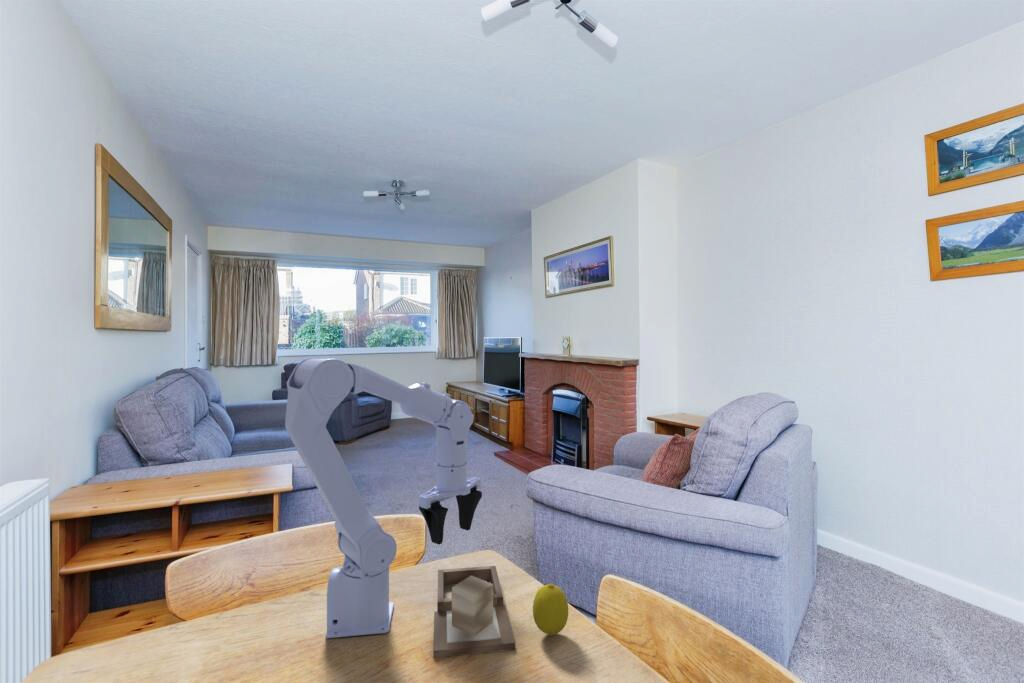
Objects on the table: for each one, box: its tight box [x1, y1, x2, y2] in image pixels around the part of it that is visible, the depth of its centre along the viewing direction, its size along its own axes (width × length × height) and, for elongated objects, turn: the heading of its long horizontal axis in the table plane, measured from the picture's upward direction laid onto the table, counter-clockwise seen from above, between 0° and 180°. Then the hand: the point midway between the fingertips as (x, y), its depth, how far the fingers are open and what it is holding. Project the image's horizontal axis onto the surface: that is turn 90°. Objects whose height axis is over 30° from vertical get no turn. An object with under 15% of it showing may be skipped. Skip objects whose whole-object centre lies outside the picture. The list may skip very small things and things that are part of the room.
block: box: [451, 576, 493, 637], centre depth 73 cm, size 5×5×6 cm
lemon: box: [532, 583, 569, 637], centre depth 72 cm, size 6×6×8 cm
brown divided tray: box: [432, 565, 516, 658], centre depth 78 cm, size 12×21×2 cm, turn 9°
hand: (451, 535), depth 86 cm, fingers open, 7 cm apart
